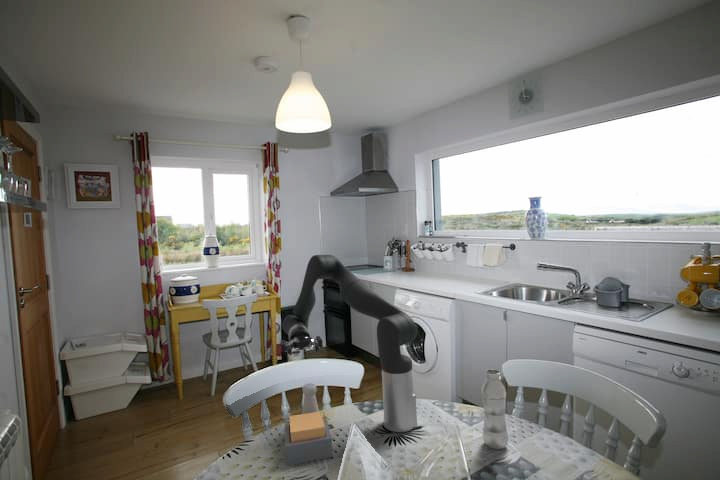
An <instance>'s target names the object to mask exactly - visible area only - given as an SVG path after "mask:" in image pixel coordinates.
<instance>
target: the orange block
mask: <svg viewBox="0 0 720 480" xmlns="http://www.w3.org/2000/svg"><path fill="white" fill-rule="evenodd" d="M322 417H323V414H322V411H320V410H319V412H313V413H306V414H302V413H301V414H296V415H293V414H292V415H289V422H290V436H291V443H292V442H298V441H304V440H310V439H316V438H322V437H325V426H324V422H323V418H322Z"/></svg>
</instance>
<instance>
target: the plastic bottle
mask: <svg viewBox="0 0 720 480" xmlns="http://www.w3.org/2000/svg"><path fill="white" fill-rule="evenodd" d="M480 390H481V391H480V392H481V398H482V403H483V414H484V415H483V416H484V417H483V418H484V419H483V428H482V437H483V438H482V439H483V442H484V444H485V445H486V446H487V447H488V448H491V449H494V450H503V449H505V448H506V447H507V445H508V441H509V435H508V429H507V424H506V423H507V422H506V413H505V412H506V402H507V390H506V387H505V386H504V384H503V383H502V382H501V372H500V370H497V369H495V368H491V369H490V368H489V369H488V368H487V369H486V371H485V381H484V383H483V384H482V386H481V389H480Z"/></svg>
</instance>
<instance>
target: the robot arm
mask: <svg viewBox="0 0 720 480" xmlns="http://www.w3.org/2000/svg"><path fill="white" fill-rule="evenodd" d="M327 279H328V280H331V281H332V280H333V281H334V282H335V283H336V284H338V286H339V293H340V297H341V299H342V300H343V301H344V302H345V303H346V304H347V305H348V306H349V307H350V308H351V309H352V310H353V311H356V312H357V313H359V314H362V315H363V316H364V315H365V316H367V317H369V318H370V317H371V318H373V319H376V320H378V322H377V325H376V326H377V327H376V340H377V341H376V342H377V349H378V351H377V352H378V359H379V361H380V364H381V378H382V379H381V381H382V383H381V384H382V400H383V401H382V402H383V423H384V425H383V426H384V427H385V428H386V429H387V430H388V431H391V432H394V433H405V432H409V431H411V430H413V429H414V428H417V427H418V418H417V417H418V414H417V395H416V394H415V392H414V377H413V361H412V358H411V357H410V356H408V355H405V354H402V353H401V346H404V345H407V344H409V343H412V342H413V341H414V340H416V338H417V336H418V328H417V324H416V322H415V321H414V319H413V318H412V317H411V315H408V313H406V312H404V311H403V310H401V309H400V308H398V307H397V306H395V305H393V304H392V303H390V302H389V301H387V300H386V299H385V298H383V297H382V296H381V295H380V294H378V293H377V292H376V291H375V290H373V288H371V287H370V286H369V285H368V284H366V283H365V282H364V281H363V280H361V279H360V278H359V277H357V276H356V275H355V274H354V273H353V272H352V271H350V270H349V269H348V268H347V267H346V266H345V264H343V263H342V261H340V259H339V258H338V257H336V256H334V255H332V254H316V255H312V256H311V257H310V258H309V260H308V263H307V266H306V270H305V274H304V278H303V282H302V286H301V289H300V293H299V296H298V299H297V300H296V303H295V305H294V307H293V310H292V313H293V315H292V314H288V315H286V316H285V317H284V319H283V320H282V324H281V325H282V330H283V332H284V333H285V334H287V335H288V341H286V340H285V339H281V341H280V349H281V350H280V351H281V352H280V353H285V352H286V353H287V355H289V356H292V355H293V354H292V353H293V352H294V351H296V350H297V351H302V350H305V349H309V350H312V349H313V350H314V352H315V353H318V351H319V350H320V349H322V348H324V346H323V345H324V344H323V342H324V341H323V339H322V337H321V336H320V335H317V336H316V337H315V338H313V337H311V334H310V332H309V330H308V329H309V320H310V319H309V318H310V315H311V313H312V311H313V309H314V307H315V305H316V299H317V297H316V294H315V285H316V283H317V281H318V280H327Z"/></svg>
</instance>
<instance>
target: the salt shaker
mask: <svg viewBox="0 0 720 480" xmlns="http://www.w3.org/2000/svg"><path fill="white" fill-rule="evenodd" d="M301 390H302V394H304V395H303V403H302V411H301V414H306V413H313V412H319V411H320V410H319V407H318V405H319V404H318V402H317V397H316V396H317V395H316V393H317V385H316V384H315V383H314V382H313V383H312V382H309V383H305V384H303V386H302V389H301Z"/></svg>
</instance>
